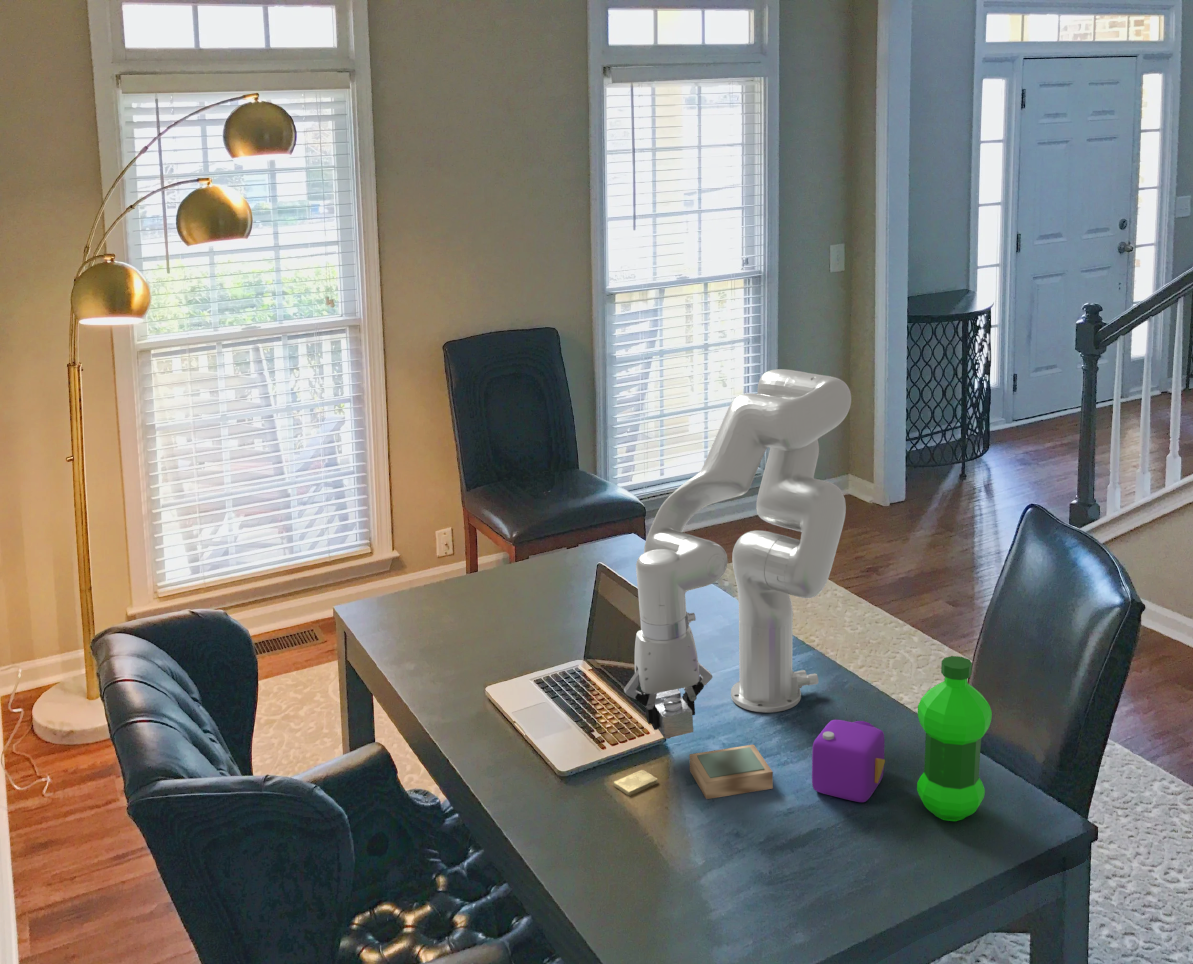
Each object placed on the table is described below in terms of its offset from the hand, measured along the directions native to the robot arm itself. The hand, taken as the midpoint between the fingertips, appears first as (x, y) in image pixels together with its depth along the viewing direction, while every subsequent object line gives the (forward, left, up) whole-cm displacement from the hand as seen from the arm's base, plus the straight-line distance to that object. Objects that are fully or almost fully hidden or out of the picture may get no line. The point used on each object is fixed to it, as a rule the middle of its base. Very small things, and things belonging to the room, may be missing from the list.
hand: (671, 721), depth 212 cm
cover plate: (+8, +8, -6) cm, 13 cm away
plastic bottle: (-35, +29, -6) cm, 46 cm away
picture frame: (-7, +11, -6) cm, 14 cm away
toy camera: (-25, +17, -6) cm, 31 cm away
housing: (0, 0, -1) cm, 1 cm away
